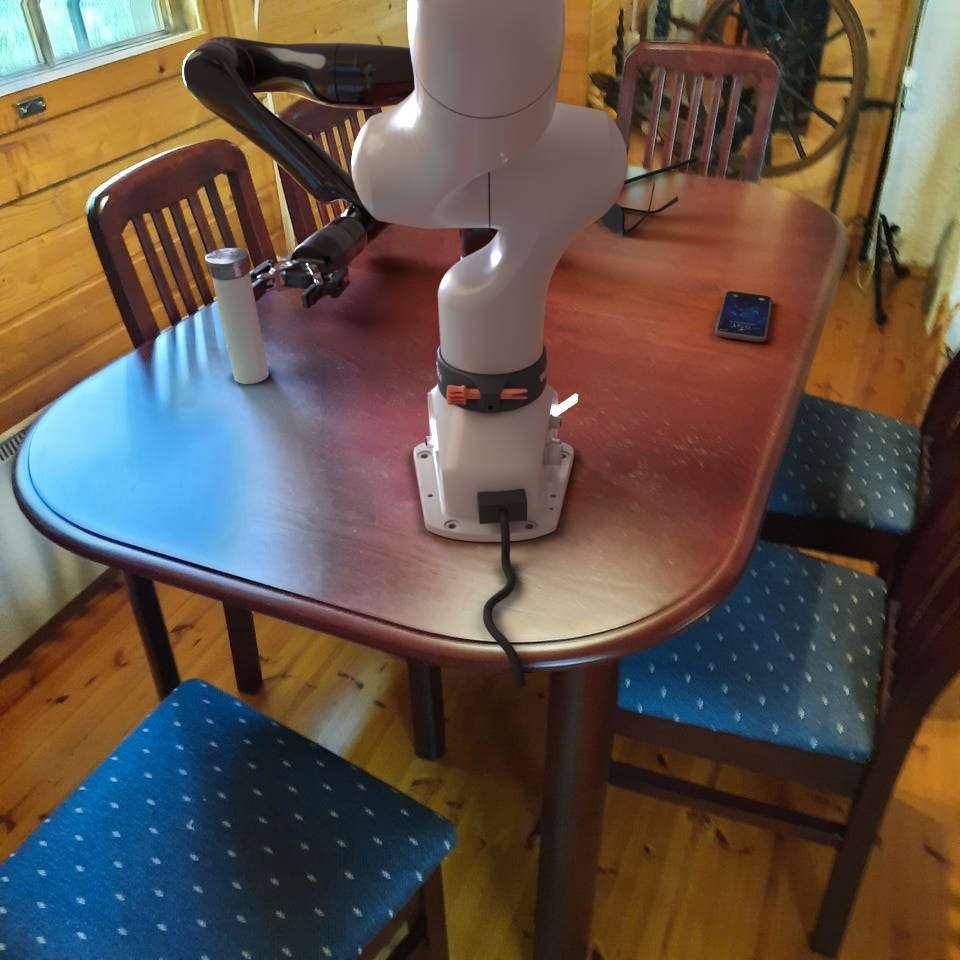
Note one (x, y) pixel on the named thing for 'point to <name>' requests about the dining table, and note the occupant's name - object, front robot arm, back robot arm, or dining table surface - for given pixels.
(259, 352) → the white cylinder
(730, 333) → the smartphone
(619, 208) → the sunglasses
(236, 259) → the lid
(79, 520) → the dining table surface
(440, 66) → the front robot arm
